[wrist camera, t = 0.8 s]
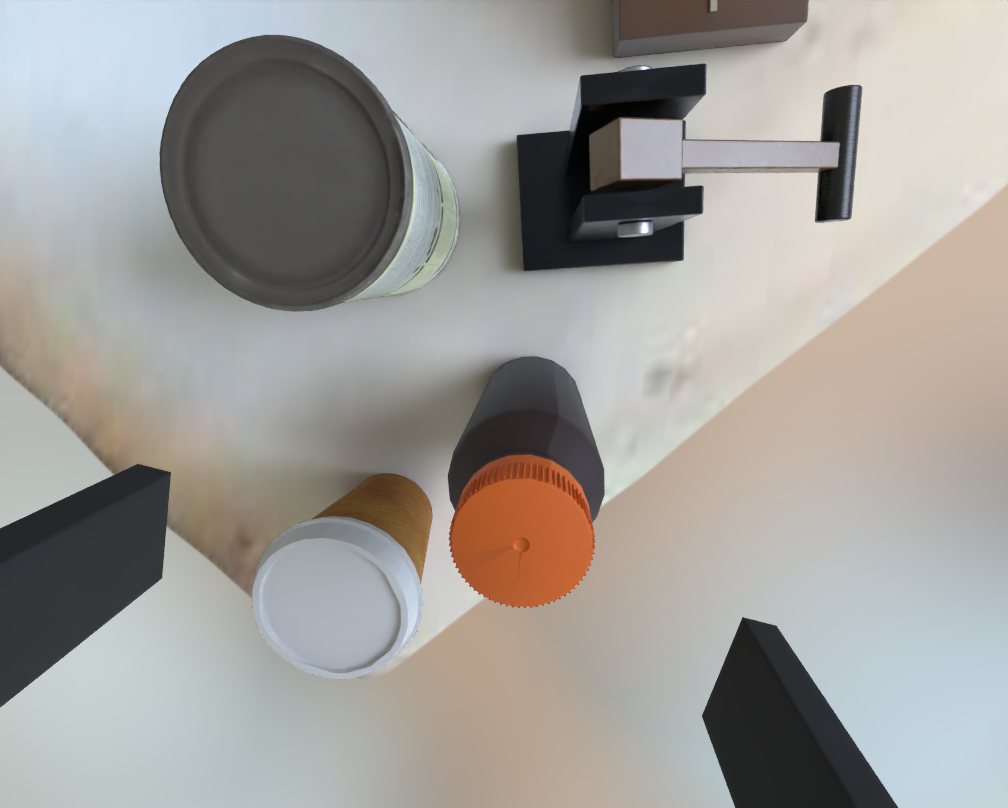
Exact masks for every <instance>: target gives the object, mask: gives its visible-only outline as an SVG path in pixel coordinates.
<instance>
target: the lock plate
mask: <svg viewBox="0 0 1008 808" xmlns="http://www.w3.org/2000/svg"><path fill="white" fill-rule="evenodd" d="M807 16H808V0H613V46H614V57H615V58H617V57H627V56H637V55H647V54H657V53H668V52H678V51H688V50H698V49H708V48H718V47H728V46H738V45H748V44H758V43H768V42H778V41H786V40H788V39H789V38H790V37H791V36H792V35H793V34H794V33H795V32H796V31H797V30H798V29H799V28H800V27H801V26H802V25H804V24H805V23H806V22H807Z"/></svg>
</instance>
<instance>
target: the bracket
mask: <svg viewBox="0 0 1008 808" xmlns="http://www.w3.org/2000/svg"><path fill="white" fill-rule="evenodd" d="M705 94H706V64H696V65H686V66H676V67H665V68H655V69H652V68H651V67H649V66H632V67H628V68H625V69H623V70H621V71H619V72H614V73H603V74H593V75H583V76H581V77H580V81H579V86H578V91H577V96H576V101H575V106H574V111H573V117H572V122H571V127H570V131H559V132H548V133H536V134H525V135H517V150H518V169H519V187H520V206H521V224H522V243H523V261H524V271H535V270H550V269H565V268H580V267H595V266H610V265H625V264H639V263H654V262H669V261H682V260H683V259H684V220H687V219H690V218H692V217H695V216H697V215H700V214H702V213H703V193H704V187H703V186H690V187H685V173H682V179H681V180H680V181H677V182H674V183H670V184H667V185H664V186H661V187H657V188H654V189H651V190H639V191H594V192H593V191H591V188H590V147H589V136H590V134H591V133H593V132H595V131H596V130H598V129H600V128H601V127H603V126H605V125H607V124H608V123H610V122H612V121H613V120H615V119H617V118H618V117H639V118H674V119H683V118H684V117H685V116H686V115H687V114H688V113H689V112H690V111H691V110H692V109H693V107H694V106H695V105H696V104H697V103H698V102H699V101H700V100H701V99H702V97H703V96H704V95H705ZM685 130H686V122H685V121H684V120H683V139H685Z"/></svg>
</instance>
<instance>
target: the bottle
mask: <svg viewBox="0 0 1008 808" xmlns="http://www.w3.org/2000/svg"><path fill="white" fill-rule="evenodd" d="M448 484H449V495H450V500H451V503H452V505H453V507H454V509H455V514H454V516H453V519H452V522H451V523H452V524H451V527H450V529H451V530H450V533H449V535H450V538H449V540H450V544H449V546H451V549H450V552H452V556H451V557H453V558H454V561H453V563H456V567H455V568H458V569H459V571H458V573H461V575H462V578H465V579H466V581H465V582H468V583H469V584H470V585H469V587H471V586H472V587H473V588H474V591H475V590H476V591H478V592H479V594H480V593H481V594H483V595H484V597H488V598H489V600H493V601H495V602H499V603H500V604H502V603H503V604H506V606H508V605H510V606H512V607H518V608H520V607H521V606H522V607H524V608H525V607H526V606H530V607H532V606H536V607H538V605H544V604H545V603H548V604H550V602H551V601H554V602H555V600H557V599H558V598H559V599H560V597H561V596H563V595H564V596H566V593H567V592H569V593H570V590H572V589H575V586H576V584H577V585H579V581H580V580H583V578H582V577H583V575H584V576H586V571H588V570H589V568H588V565H591V561H590V560H593V557H592V554H594V550H593V549H594V548H595V546H594V543H595V539H594V537H595V535H594V530H593V525H592V522H593V521H594V520H595V518H596V517H597V515H598V512H599V509H600V506H601V503H602V500H603V497H604V468H603V465H602V461H601V458H600V455H599V452H598V449H597V446H596V443H595V440H594V437H593V434H592V431H591V428H590V424H589V421H588V418H587V415H586V412H585V409H584V406H583V403H582V400H581V397H580V394H579V391H578V388H577V386H576V383H575V381H574V379H573V378H572V377H571V376H570V374H569V373H568V372H567V371H566V369H564V368H563V367H561V366H560V365H558V364H557V363H555V362H554V361H552V360H548V359H544V358H541V357H521V358H518V359H515V360H513V361H510V362H508V363H506V364H505V365H503V366H502V367H501V368H500V369H498V370H497V371H496V372H495V373H494V374H493V376H492V378H491V379H490V381H489V382H488V384H487V385H486V387H485V389H484V392H483V394H482V396H481V398H480V400H479V402H478V404H477V406H476V408H475V410H474V412H473V414H472V416H471V418H470V420H469V422H468V424H467V426H466V428H465V430H464V432H463V434H462V436H461V438H460V440H459V442H458V444H457V446H456V448H455V450H454V452H453V456H452V460H451V464H450V468H449V473H448Z"/></svg>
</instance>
